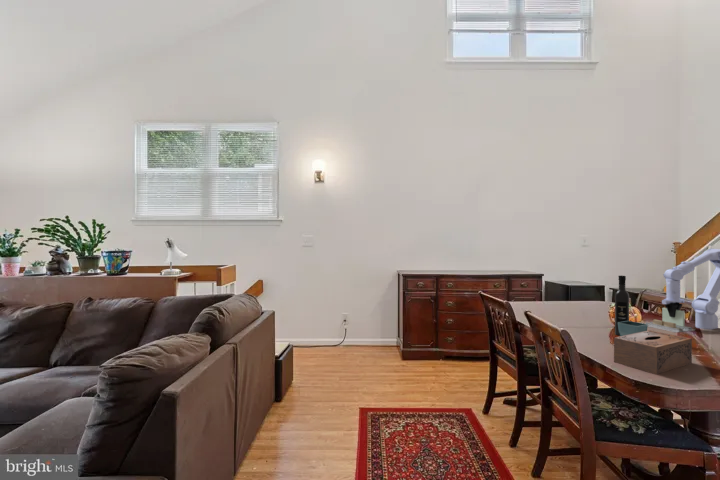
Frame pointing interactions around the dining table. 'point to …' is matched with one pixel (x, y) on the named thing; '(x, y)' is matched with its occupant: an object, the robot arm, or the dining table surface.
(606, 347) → the dining table surface
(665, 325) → the oak offcut
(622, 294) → the wine bottle
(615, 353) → the tissue box cover
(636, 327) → the flower pot
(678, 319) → the sage panel
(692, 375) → the dining table surface
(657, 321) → the oak offcut
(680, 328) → the slot rack
